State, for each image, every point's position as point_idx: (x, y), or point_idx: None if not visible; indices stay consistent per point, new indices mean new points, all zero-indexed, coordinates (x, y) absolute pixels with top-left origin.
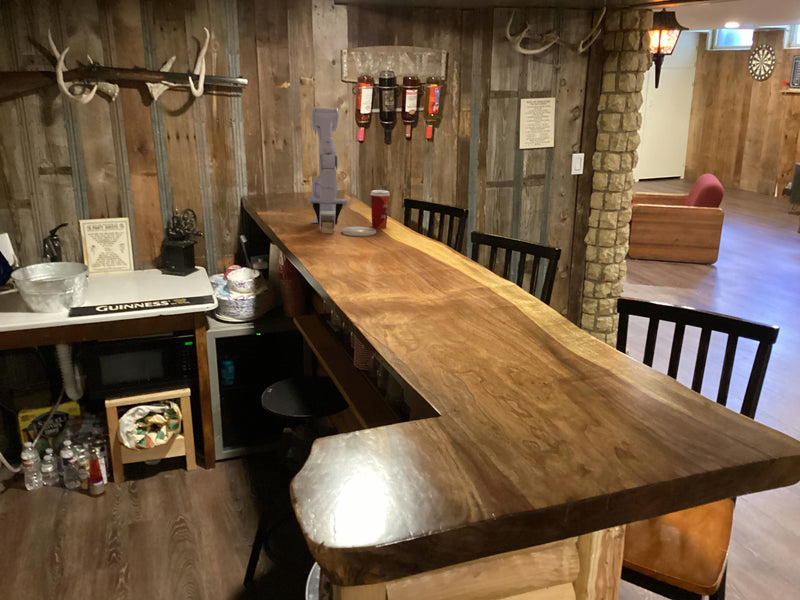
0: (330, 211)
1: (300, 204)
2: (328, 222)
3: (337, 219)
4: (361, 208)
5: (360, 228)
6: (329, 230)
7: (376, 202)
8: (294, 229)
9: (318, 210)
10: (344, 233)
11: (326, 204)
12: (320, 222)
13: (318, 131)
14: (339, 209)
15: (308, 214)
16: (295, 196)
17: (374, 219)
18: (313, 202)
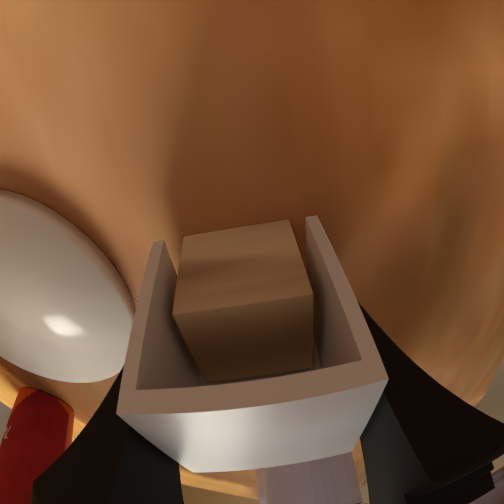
0: (241, 465)
1: (362, 469)
2: (231, 317)
3: (123, 365)
4: (218, 488)
5: (40, 351)
6: (213, 247)
7: (14, 498)
8: (471, 265)
9: (416, 426)
10: (64, 224)
11: (302, 501)
12: (333, 273)
13: None
14: (57, 478)
15: (355, 447)
16: (363, 480)
17: (38, 426)
18: (480, 500)
